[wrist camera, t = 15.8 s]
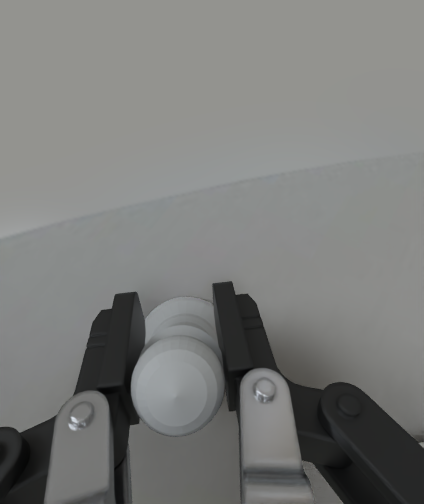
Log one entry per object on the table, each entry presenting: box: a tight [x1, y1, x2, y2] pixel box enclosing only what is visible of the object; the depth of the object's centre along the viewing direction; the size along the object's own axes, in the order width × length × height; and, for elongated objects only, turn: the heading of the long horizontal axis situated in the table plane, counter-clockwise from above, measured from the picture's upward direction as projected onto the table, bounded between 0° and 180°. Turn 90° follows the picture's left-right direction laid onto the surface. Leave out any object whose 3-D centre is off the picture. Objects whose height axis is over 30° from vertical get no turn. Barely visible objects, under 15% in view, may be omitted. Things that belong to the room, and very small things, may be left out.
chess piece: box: [131, 297, 225, 437], centre depth 11 cm, size 5×5×8 cm
